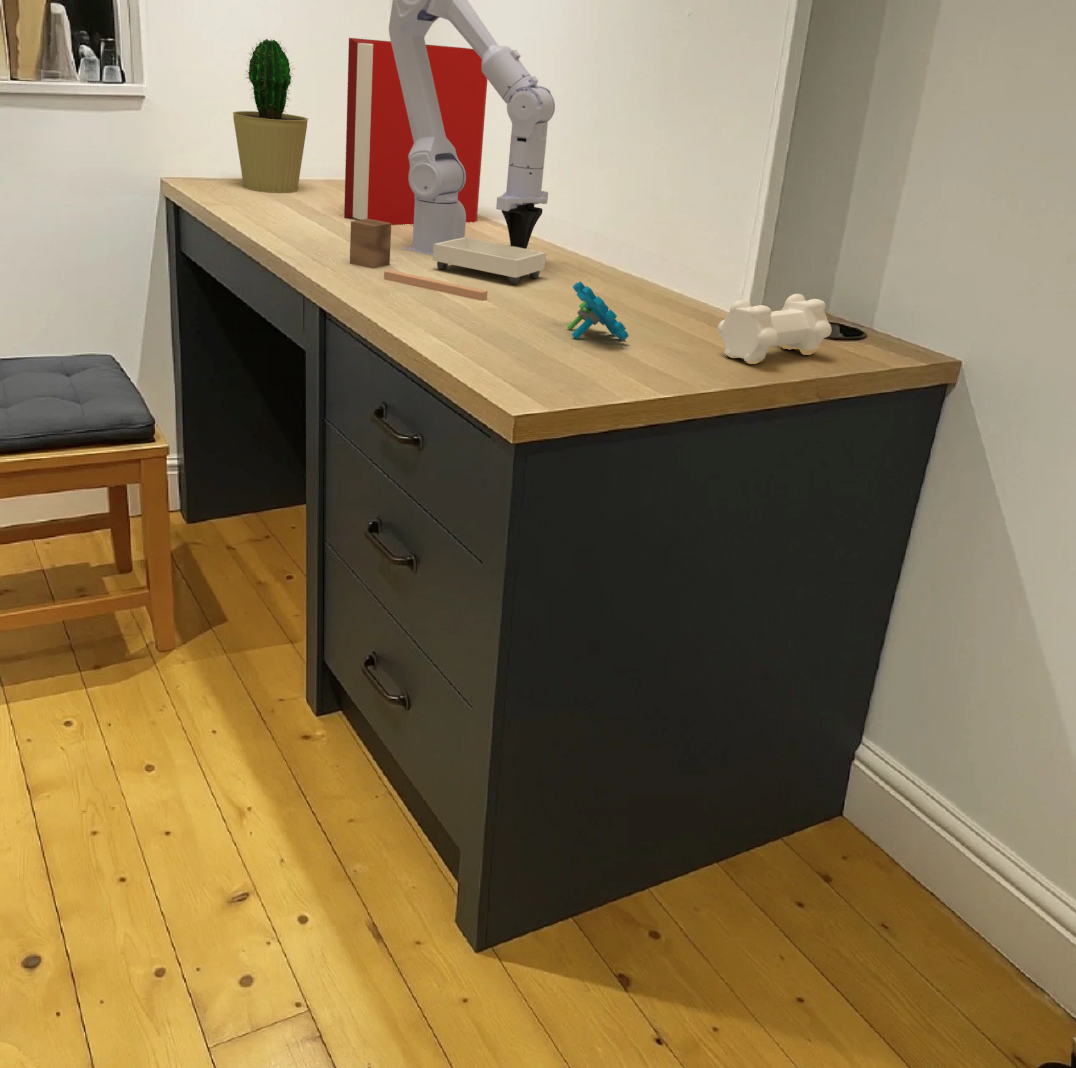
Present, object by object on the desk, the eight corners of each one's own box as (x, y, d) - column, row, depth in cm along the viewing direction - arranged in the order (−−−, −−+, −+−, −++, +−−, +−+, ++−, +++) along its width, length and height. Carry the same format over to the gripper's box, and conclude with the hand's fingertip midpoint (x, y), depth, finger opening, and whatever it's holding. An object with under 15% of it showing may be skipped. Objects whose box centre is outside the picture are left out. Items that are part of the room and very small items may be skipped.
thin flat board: (460, 262, 186) (460, 253, 185) (550, 281, 179) (551, 271, 179) (383, 281, 167) (384, 271, 166) (481, 303, 161) (482, 292, 160)
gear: (641, 338, 145) (594, 280, 141) (608, 369, 145) (560, 313, 141) (614, 327, 155) (570, 273, 151) (584, 356, 155) (538, 303, 152)
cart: (463, 261, 185) (465, 236, 183) (543, 277, 179) (546, 252, 178) (432, 269, 177) (433, 243, 175) (514, 286, 171) (517, 260, 169)
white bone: (780, 347, 158) (787, 290, 155) (831, 358, 151) (839, 298, 149) (711, 358, 148) (716, 297, 145) (762, 370, 142) (769, 306, 139)
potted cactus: (322, 193, 238) (324, 41, 226) (260, 195, 228) (259, 36, 215) (280, 181, 248) (280, 35, 235) (219, 183, 237) (216, 30, 225)
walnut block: (366, 262, 179) (367, 218, 176) (389, 267, 177) (391, 223, 174) (349, 266, 175) (350, 221, 172) (373, 271, 173) (374, 226, 170)
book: (367, 226, 209) (373, 41, 195) (344, 218, 214) (348, 37, 201) (480, 221, 226) (493, 51, 212) (456, 214, 231) (467, 48, 218)
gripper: (527, 172, 172) (519, 260, 178) (567, 167, 184) (558, 249, 190) (487, 166, 175) (481, 252, 180) (529, 161, 187) (522, 242, 192)
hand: (518, 251), depth 185 cm, fingers closed
